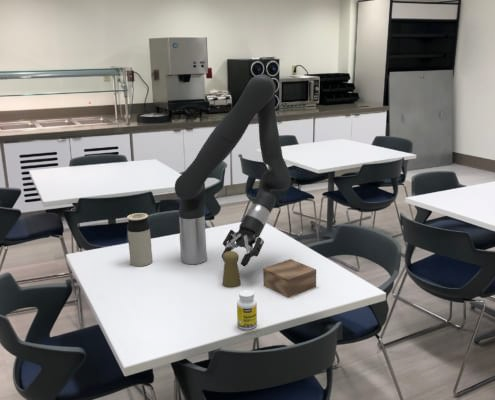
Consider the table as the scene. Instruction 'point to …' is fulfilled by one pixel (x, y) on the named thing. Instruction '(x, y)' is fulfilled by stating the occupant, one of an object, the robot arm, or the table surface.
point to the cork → (231, 270)
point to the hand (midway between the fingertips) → (233, 262)
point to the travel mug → (139, 239)
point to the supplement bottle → (246, 310)
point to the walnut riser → (289, 277)
